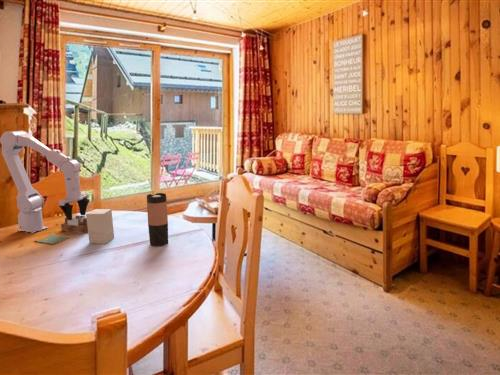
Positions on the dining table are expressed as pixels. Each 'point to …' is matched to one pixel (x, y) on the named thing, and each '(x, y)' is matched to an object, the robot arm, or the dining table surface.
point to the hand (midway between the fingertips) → (76, 217)
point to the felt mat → (53, 239)
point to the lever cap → (76, 220)
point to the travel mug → (157, 219)
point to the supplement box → (100, 226)
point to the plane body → (76, 227)
